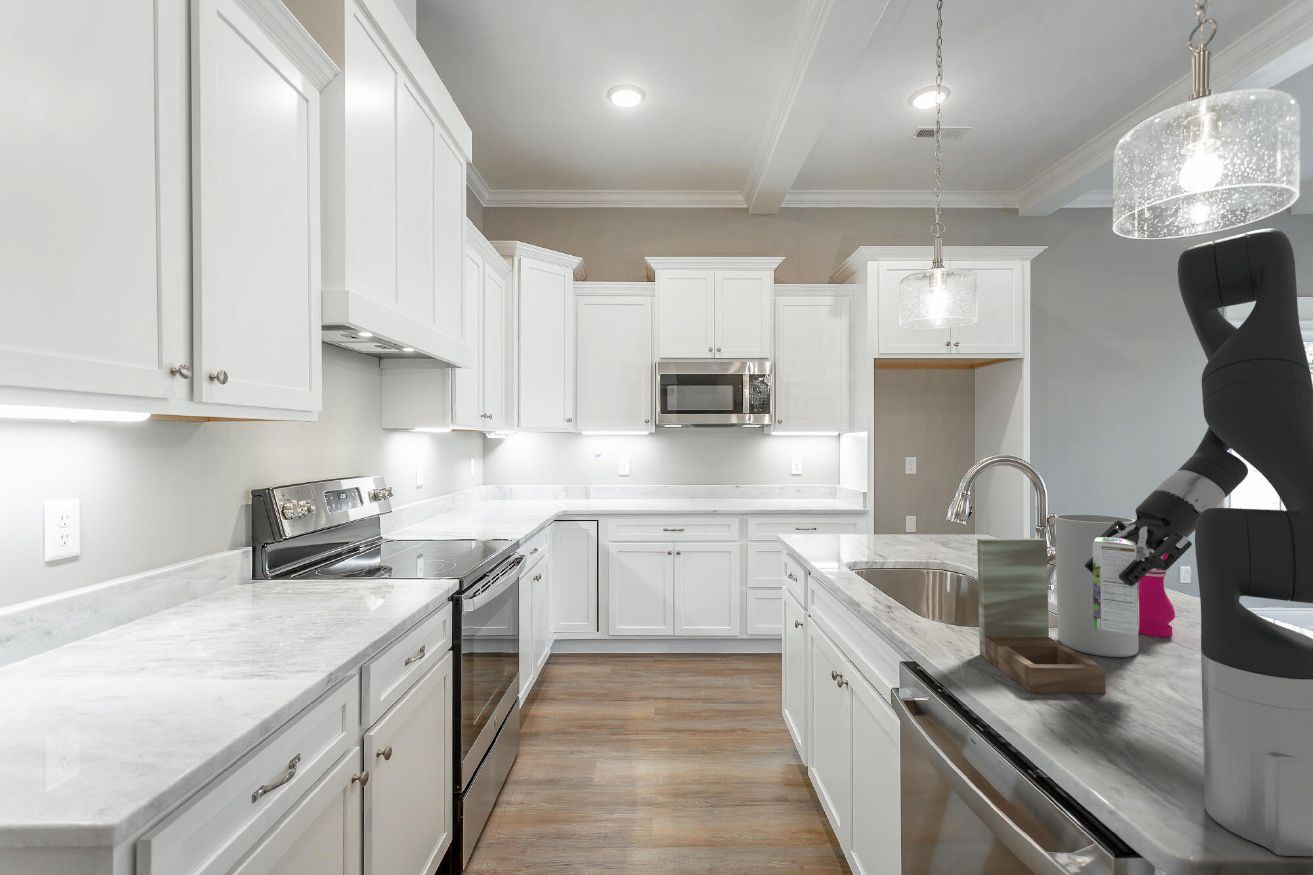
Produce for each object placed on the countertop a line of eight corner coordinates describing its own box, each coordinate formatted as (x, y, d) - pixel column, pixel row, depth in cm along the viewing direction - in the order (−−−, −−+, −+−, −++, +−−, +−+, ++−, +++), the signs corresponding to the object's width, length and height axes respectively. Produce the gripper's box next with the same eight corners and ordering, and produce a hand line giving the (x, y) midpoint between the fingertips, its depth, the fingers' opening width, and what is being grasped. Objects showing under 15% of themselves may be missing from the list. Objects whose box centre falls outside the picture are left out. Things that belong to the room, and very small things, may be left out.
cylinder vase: (1148, 648, 111) (1145, 518, 111) (1125, 664, 104) (1121, 525, 104) (1072, 631, 121) (1070, 512, 122) (1046, 644, 114) (1043, 518, 114)
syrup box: (1095, 621, 99) (1092, 536, 99) (1141, 627, 95) (1137, 539, 95) (1093, 630, 94) (1090, 540, 94) (1140, 637, 90) (1137, 544, 91)
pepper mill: (1170, 629, 121) (1168, 534, 122) (1180, 640, 115) (1177, 539, 115) (1126, 624, 125) (1124, 532, 125) (1133, 634, 119) (1131, 537, 119)
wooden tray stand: (1105, 693, 92) (1102, 555, 93) (1030, 692, 93) (1027, 556, 93) (1043, 654, 109) (1040, 538, 109) (979, 654, 110) (977, 538, 110)
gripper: (1129, 485, 101) (1061, 552, 102) (1198, 492, 87) (1119, 569, 88) (1162, 515, 101) (1094, 582, 102) (1238, 527, 87) (1158, 604, 87)
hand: (1106, 576), depth 95 cm, fingers closed on syrup box, 7 cm apart
